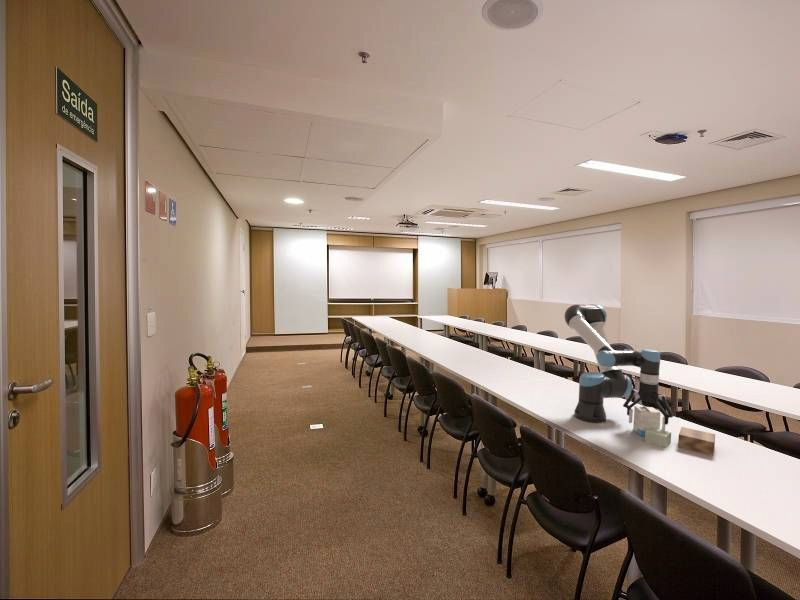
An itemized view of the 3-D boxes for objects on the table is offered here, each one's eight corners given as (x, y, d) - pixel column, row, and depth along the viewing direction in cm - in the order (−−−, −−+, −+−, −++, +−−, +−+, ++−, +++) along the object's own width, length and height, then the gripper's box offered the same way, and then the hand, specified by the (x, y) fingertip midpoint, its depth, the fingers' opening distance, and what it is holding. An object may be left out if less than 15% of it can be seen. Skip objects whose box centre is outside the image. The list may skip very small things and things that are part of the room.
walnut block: (677, 447, 168) (678, 434, 167) (680, 439, 177) (681, 426, 176) (713, 456, 160) (714, 442, 159) (714, 447, 169) (715, 434, 168)
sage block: (644, 441, 173) (645, 430, 173) (650, 437, 178) (650, 426, 178) (665, 447, 167) (666, 436, 167) (670, 443, 172) (671, 432, 172)
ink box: (659, 437, 178) (661, 409, 177) (639, 435, 179) (641, 407, 179) (651, 430, 186) (653, 403, 185) (632, 428, 188) (634, 402, 187)
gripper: (617, 378, 188) (615, 420, 189) (679, 389, 170) (676, 436, 171) (622, 376, 193) (620, 417, 194) (682, 386, 175) (680, 432, 176)
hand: (646, 426), depth 182 cm, fingers open, 13 cm apart
